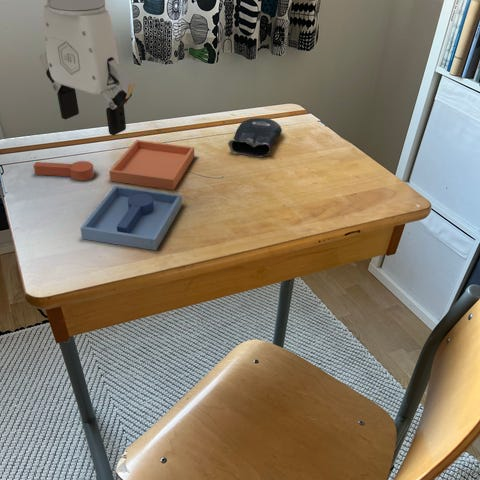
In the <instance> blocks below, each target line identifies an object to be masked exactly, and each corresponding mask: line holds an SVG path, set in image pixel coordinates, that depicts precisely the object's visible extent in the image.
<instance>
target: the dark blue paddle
mask: <svg viewBox="0 0 480 480" xmlns="http://www.w3.org/2000/svg"><path fill="white" fill-rule="evenodd" d="M128 207H129V210H128V211H127V213H126V214H125V215H124V217H123V218H122V220H121V221H120V222H119V224H118V225H117V232H123V233H129V234H130V233H131V231H132V230H133V228H134V227H135V225H136V224H137V222H138V221H139V219H140V218H141V216H143V215H148V214H150V213H152V212H153V210H154V205H153V198H152V197H151V196H150V195H147V194H136V195H132V196H131V197H129V199H128Z"/></svg>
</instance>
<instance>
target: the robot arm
mask: <svg viewBox="0 0 480 480" xmlns="http://www.w3.org/2000/svg"><path fill="white" fill-rule="evenodd" d="M45 1H46V4H45V5H43V32H44V43H45V51H46V52H44V53H42V54H40V55H39V60H40V62H41V64H42V66H43V68H44V70H45V74H46V76H47V78H48V79H49V80H50V82H51V84H52V89H53V91H54V92H56V95H57V100H58V106H59V112H60V117H61V119H63V120H68V119H71V118H73V117H75V116H78V115H80V111H79V105H78V99H77V98H78V97H77V92H76V90H77V91H81V92H84V93H87V94H91V95H101V96H102V97H103V100H104V101H105V102H106V104H107V106H108V107H106V109H105V112H106V121H107V128H108V134H109V135H110V136H116V135H118V134H120V133H122V132H124V131H126V129H127V123H126V114H125V105H127V104H128V101H129V100H130V99H131V97H132V95H133V91H134V87H135V85H136V79H135V78H134V76H132V75H131V74H130V73H129V72H127V70H126V69H125V68H123V67H122V66H121V65H120V62H119V61H120V60H119V53H118V48H117V43H116V42H117V41H116V37H115V33H114V28H113V24H112V20H111V17H110V14H109V10H107V9H106V0H45ZM110 91H111V92H112V93H113V94H114V96H113V95H112V93H111V92H110Z"/></svg>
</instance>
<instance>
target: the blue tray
mask: <svg viewBox="0 0 480 480" xmlns="http://www.w3.org/2000/svg"><path fill="white" fill-rule="evenodd" d="M136 194H147V195H150V196H151V197H152V198H153V205H154V210H153V212H152V213H150V214H148V215H143V216H141V218H140V219H139V221H138V222H137V224H136V225H135V227H134V228H133V230H132V231H131V233H130V234H129V233H123V232H117V225H118V224H119V222H120V221H121V220H122V218H123V217H124V215H125V214H126V213H127V211H128V210H129V207H128V199H129V197H131V196H132V195H136ZM182 206H183V195H182V194H177V193H171V192H163V191H155V190H149V189H143V188H135V187H128V186H123V185H113V187H112V188H111V190H109V192H108V193H107V194H106V196H105V197H104V198H103V199H102V201H101V202H100V203H99V204H98V206H97V207H96V208H95V210H94V211H93V212H92V213H91V214H90V215H89V216H88V218H86V221H85V222H83V224H82V225H81V227H79V228H80V233H81V238H82V240H89V241H94V242H101V243H106V244H114V245H120V246H126V247H133V248H139V249H145V250H152V251H157V250H158V248H159V246H160V244H161V243H162V241H163V240H164V237H165V236H166V234H167V233H168V231H169V229H170V227H171V226H172V224H173V222H174V220H175V218H176V217H177V216H178V213H179V211H180V210H181V208H182Z"/></svg>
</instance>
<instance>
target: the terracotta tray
mask: <svg viewBox="0 0 480 480" xmlns="http://www.w3.org/2000/svg"><path fill="white" fill-rule="evenodd" d="M194 158H195V147H193V146H186V145H178V144H172V143H163V142H155V141H148V140H140V139H136V140H135V141H134V142H133V143H132V144H131V145H130V146H129V148H127V150H126V151H125V152H124V153H123V154H122V155H121V156H120V157H119V159H118V160H117V161H116V163H115V164H114V165H113V166H112V167H111V169H109V171H108V172H109V178H110V181H111V182H117V183H122V184H130V185H137V186H144V187H150V188H157V189H158V188H159V189H165V190H172V191H174V190H175V189H176V187H177V185H178V184H179V182H180V181H181V179H182V178H183V176H184V174H185V172H186V171H187V169H188V168H189V166H190V164H191V163H192V162H193V160H194Z"/></svg>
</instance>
